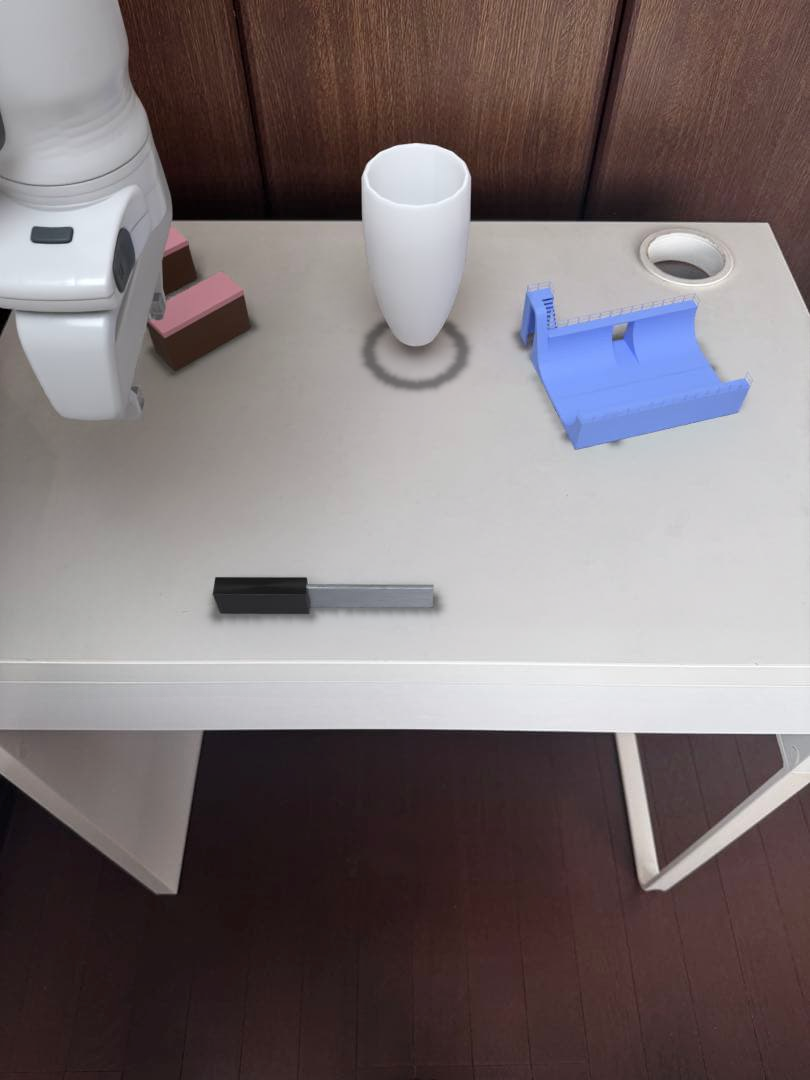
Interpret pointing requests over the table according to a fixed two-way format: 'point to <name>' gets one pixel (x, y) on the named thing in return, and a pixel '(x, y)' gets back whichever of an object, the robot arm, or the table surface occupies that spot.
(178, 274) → the cake
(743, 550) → the table surface
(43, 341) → the robot arm
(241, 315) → the cake slice
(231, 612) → the knife
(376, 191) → the cup
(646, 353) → the half pipe
